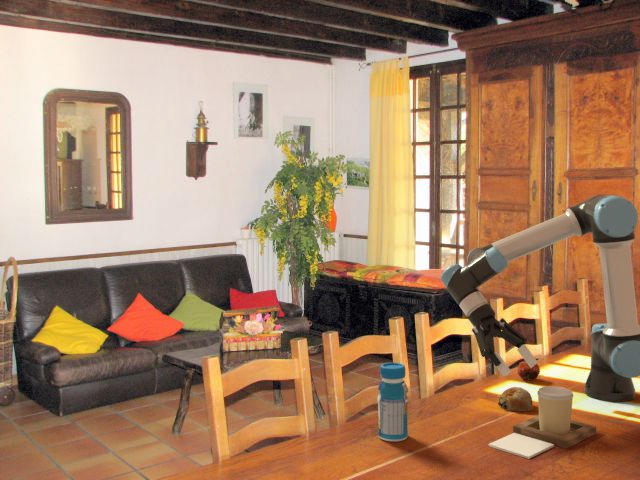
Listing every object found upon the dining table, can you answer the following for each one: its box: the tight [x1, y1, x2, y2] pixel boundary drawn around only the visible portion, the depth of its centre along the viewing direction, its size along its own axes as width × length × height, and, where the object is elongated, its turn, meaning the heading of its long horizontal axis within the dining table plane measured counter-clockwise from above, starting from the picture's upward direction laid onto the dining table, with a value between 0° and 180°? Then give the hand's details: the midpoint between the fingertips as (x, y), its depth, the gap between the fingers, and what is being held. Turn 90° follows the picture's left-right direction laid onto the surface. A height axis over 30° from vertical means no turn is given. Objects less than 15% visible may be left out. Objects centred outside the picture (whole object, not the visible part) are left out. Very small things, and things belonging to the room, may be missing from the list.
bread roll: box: [497, 386, 534, 412], centre depth 225 cm, size 10×10×8 cm
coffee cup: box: [537, 385, 574, 436], centre depth 202 cm, size 9×9×12 cm
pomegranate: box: [517, 360, 541, 384], centre depth 253 cm, size 7×7×10 cm
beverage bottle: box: [376, 362, 409, 443], centre depth 200 cm, size 8×8×20 cm
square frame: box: [512, 414, 597, 449], centre depth 203 cm, size 16×16×2 cm
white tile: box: [488, 432, 555, 460], centre depth 193 cm, size 12×12×1 cm
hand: (521, 369), depth 209 cm, fingers open, 13 cm apart
